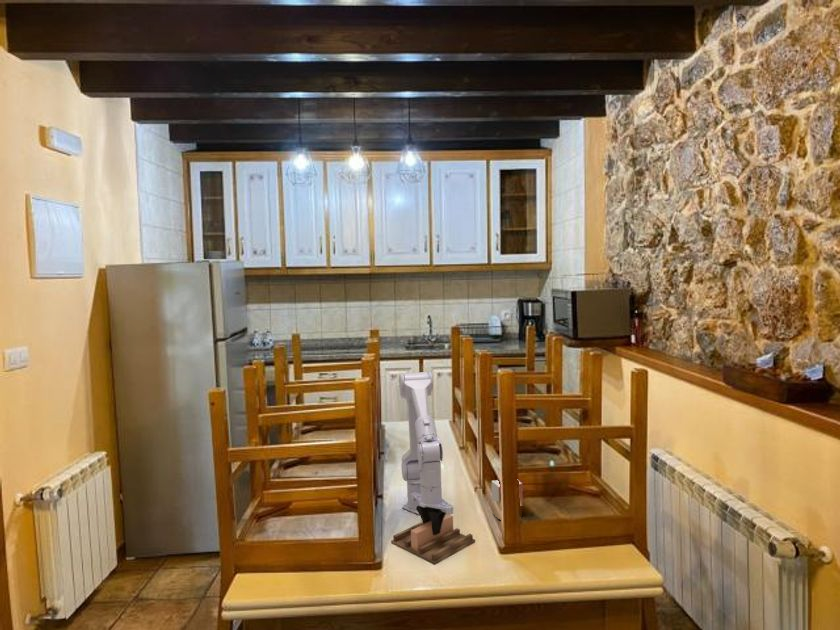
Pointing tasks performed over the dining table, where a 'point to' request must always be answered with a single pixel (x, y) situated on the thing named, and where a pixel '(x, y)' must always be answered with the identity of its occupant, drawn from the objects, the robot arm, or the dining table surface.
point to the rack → (434, 544)
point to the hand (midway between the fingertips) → (432, 531)
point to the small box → (496, 491)
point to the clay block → (429, 532)
